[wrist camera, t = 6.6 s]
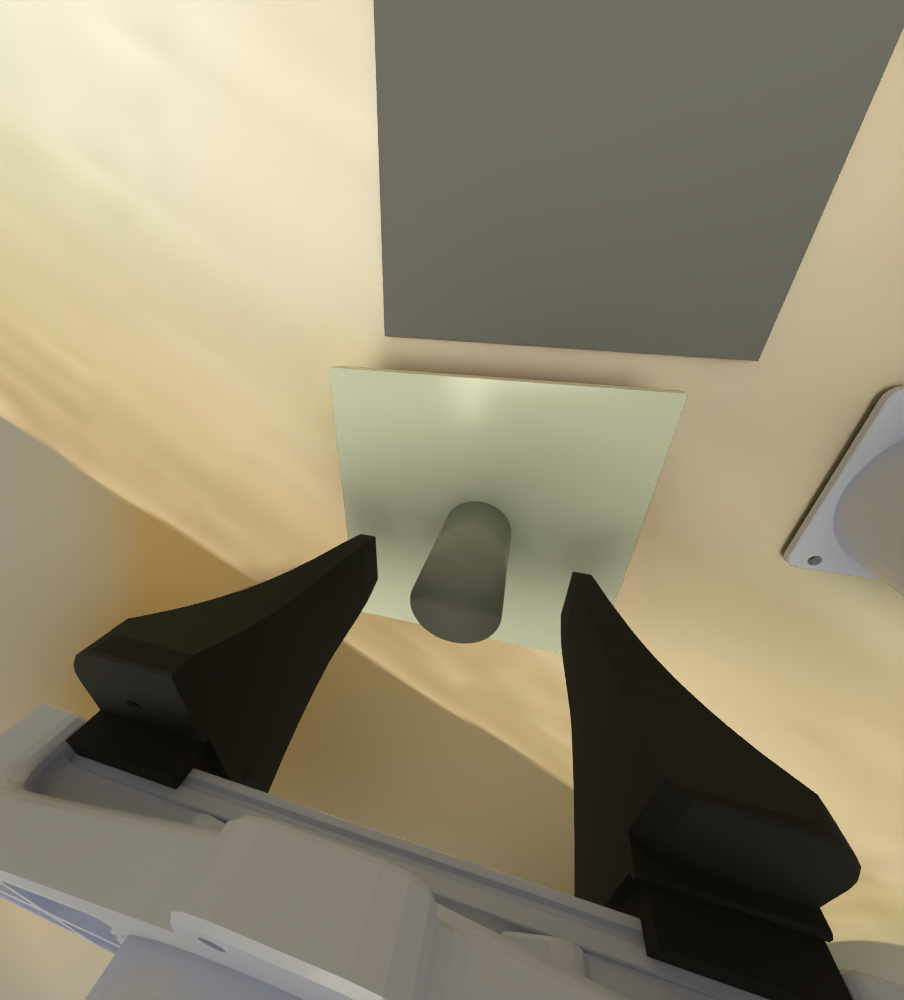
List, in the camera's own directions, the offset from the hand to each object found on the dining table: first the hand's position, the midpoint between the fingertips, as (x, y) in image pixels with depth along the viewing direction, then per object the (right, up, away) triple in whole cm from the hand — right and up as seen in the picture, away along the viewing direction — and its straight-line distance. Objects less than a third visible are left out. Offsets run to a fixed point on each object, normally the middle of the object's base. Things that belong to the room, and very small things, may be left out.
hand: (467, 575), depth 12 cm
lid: (+1, +2, +2) cm, 3 cm away
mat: (+4, +16, -1) cm, 17 cm away
